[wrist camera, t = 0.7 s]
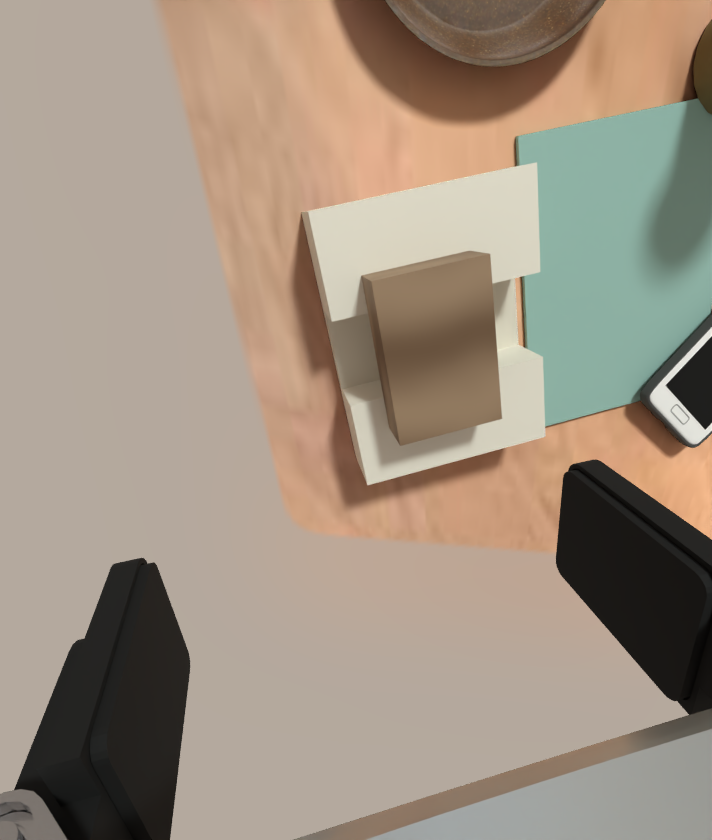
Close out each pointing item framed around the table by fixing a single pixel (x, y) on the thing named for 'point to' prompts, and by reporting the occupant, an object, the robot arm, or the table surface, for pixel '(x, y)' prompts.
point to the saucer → (494, 27)
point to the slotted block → (411, 243)
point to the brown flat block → (435, 344)
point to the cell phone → (685, 389)
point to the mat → (618, 252)
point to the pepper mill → (704, 69)
